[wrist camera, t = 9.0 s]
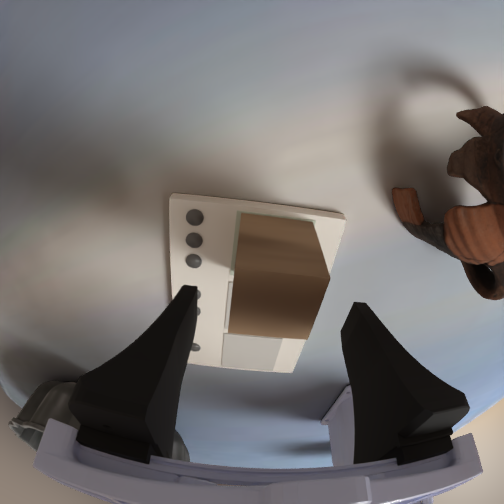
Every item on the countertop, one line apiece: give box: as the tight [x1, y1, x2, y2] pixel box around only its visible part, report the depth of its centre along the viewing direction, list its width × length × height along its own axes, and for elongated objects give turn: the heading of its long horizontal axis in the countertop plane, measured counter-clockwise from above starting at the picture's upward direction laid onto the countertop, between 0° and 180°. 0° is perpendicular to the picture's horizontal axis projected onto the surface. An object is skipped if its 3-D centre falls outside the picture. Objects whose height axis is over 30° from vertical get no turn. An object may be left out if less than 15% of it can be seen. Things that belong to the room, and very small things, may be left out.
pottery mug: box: [392, 106, 504, 300], centre depth 14 cm, size 12×10×8 cm
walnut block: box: [228, 213, 330, 340], centre depth 15 cm, size 4×4×5 cm
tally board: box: [169, 193, 347, 373], centre depth 21 cm, size 15×10×1 cm, turn 173°
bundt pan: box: [8, 381, 190, 462], centre depth 31 cm, size 26×26×10 cm
